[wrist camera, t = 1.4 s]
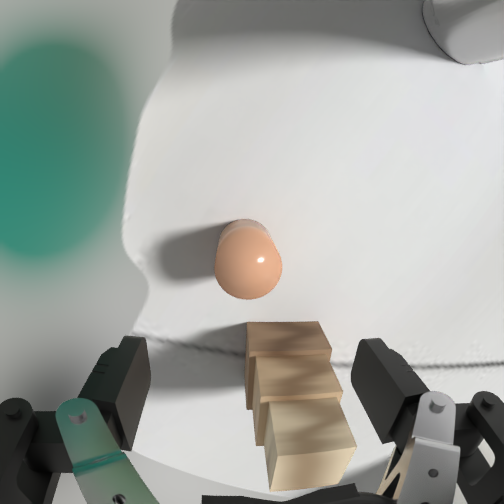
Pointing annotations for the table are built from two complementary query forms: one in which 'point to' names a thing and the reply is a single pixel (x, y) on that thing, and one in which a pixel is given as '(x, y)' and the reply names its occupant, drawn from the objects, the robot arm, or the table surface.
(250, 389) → the tower base
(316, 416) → the tower top
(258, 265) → the cylinder
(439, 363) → the table surface
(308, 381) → the tower mid
